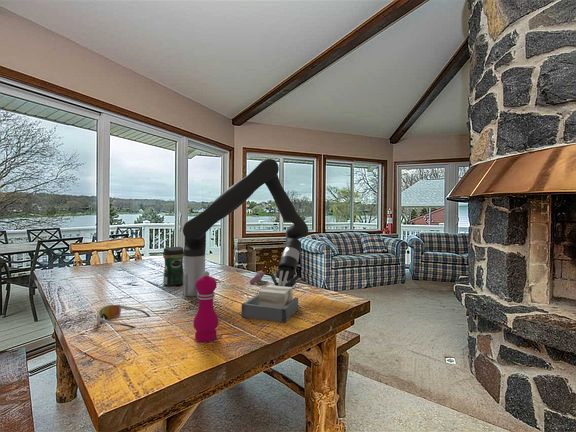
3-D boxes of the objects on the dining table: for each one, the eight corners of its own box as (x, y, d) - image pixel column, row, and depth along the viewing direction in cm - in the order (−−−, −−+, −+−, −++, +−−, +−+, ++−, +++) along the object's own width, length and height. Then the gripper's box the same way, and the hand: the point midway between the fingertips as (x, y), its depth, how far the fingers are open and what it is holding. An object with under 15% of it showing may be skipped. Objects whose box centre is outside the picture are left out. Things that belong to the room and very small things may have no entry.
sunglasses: (112, 314, 117) (113, 300, 116) (152, 320, 116) (154, 307, 116) (86, 329, 102) (88, 313, 102) (132, 337, 102) (134, 321, 102)
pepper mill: (196, 333, 100) (196, 268, 99) (219, 332, 100) (220, 268, 100) (190, 343, 92) (191, 273, 92) (216, 342, 93) (217, 273, 92)
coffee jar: (180, 281, 167) (180, 245, 166) (186, 284, 160) (186, 247, 160) (161, 283, 161) (161, 246, 160) (166, 287, 155) (166, 248, 154)
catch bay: (285, 322, 110) (285, 309, 110) (241, 316, 115) (241, 304, 115) (297, 309, 124) (298, 297, 124) (258, 304, 129) (258, 293, 129)
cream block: (284, 315, 117) (284, 293, 117) (258, 312, 120) (258, 291, 120) (292, 307, 126) (292, 287, 126) (268, 304, 129) (268, 285, 129)
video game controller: (256, 287, 162) (262, 275, 161) (248, 283, 162) (254, 271, 162) (261, 283, 171) (267, 271, 171) (254, 278, 172) (259, 267, 171)
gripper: (272, 254, 139) (261, 289, 128) (302, 256, 135) (293, 292, 124) (276, 264, 144) (266, 299, 133) (305, 266, 140) (297, 302, 129)
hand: (279, 295), depth 128 cm, fingers closed
